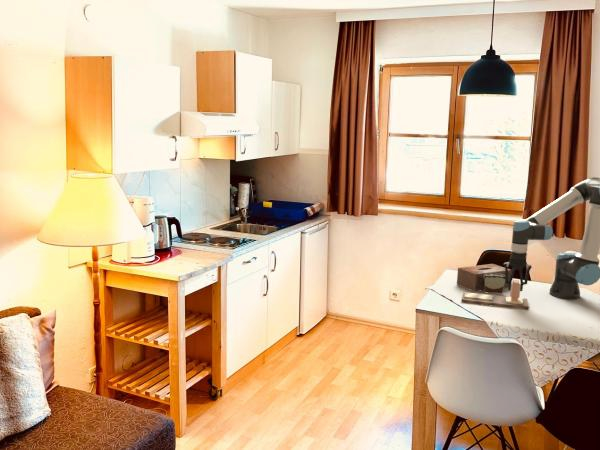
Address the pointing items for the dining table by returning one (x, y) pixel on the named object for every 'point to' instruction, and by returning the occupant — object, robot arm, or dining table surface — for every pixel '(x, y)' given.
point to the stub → (514, 294)
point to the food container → (494, 282)
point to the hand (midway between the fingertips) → (514, 296)
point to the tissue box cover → (478, 276)
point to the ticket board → (492, 300)
